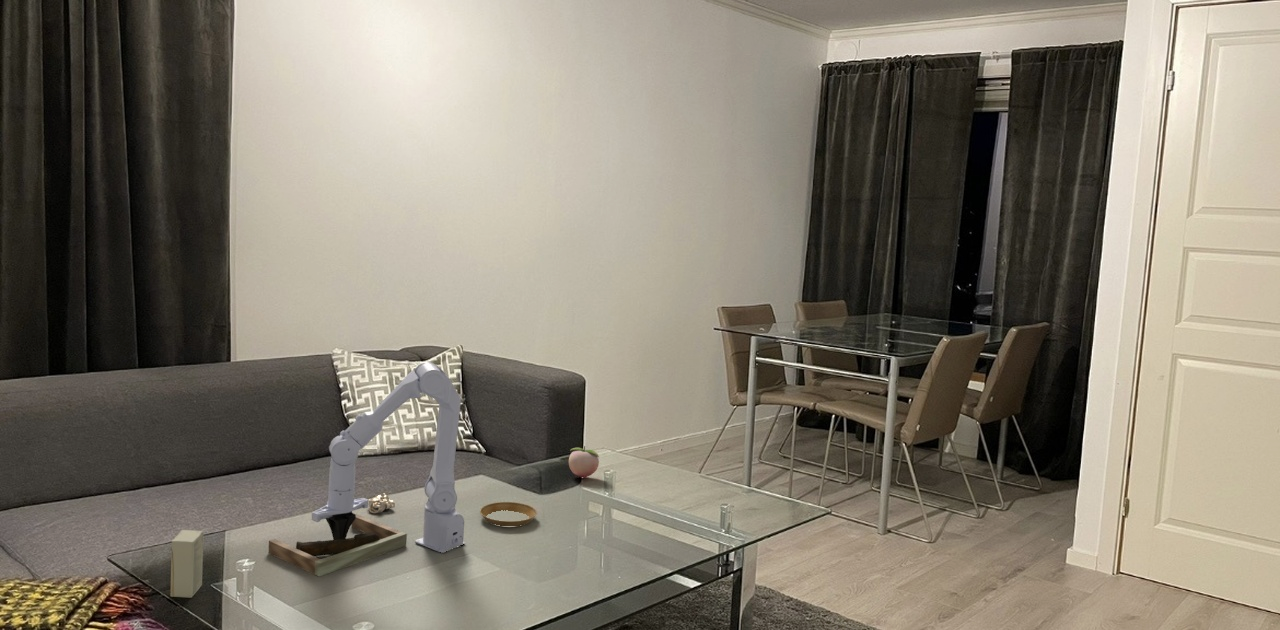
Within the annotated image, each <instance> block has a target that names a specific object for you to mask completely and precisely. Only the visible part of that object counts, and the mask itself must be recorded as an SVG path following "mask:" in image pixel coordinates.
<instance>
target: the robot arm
mask: <svg viewBox="0 0 1280 630" xmlns="http://www.w3.org/2000/svg"><path fill="white" fill-rule="evenodd" d="M422 393H423V394H424V395H426V396H428V397H429V398H432V399H433V400H434V401H436V403H438V411H437V414H438V415H437V423H436V433H435V441H434V451H433V452H434V453H433V461H432V468H431V469H430V471H429V476H428V479H427V480H426V482H425V485H424V488H423V489H424V494H425V496H426V497H427V498H428V499H427V500H426V503H425V505H424V512H423V515H424V516H423V530H422V531H423V532H422V533H423V535H422V537H421V538H418V539H415V540H414V543H416V544H418V545H421V546H423V547H426V548H428V549H430V550H433V551H435V552H439V553H440V552H441V554H443V553H446V551H447V552H449V551H451V550H450V549H452V548H455V547H457V546H460V545H463V544H465V545H466V541H464V535H465V534H464V533H465V518H464V516H463V515H462V514H460V512H458V511H457V509H456V505H457V502H458V494H457V492H456V490H455V489H456V488H455V484H456V482H455V481H456V480H455V473H454V470H455V469H454V468H455V457H456V449H457V440H458V432H459V421H460V413H461V401H462V400H461V399H462V398H461V396H460V395H459V392H458V391H457V390H456V387H455V386H454V383H452V380H451V378H449V376H448V375H447V374H446V373H445V371H444V370H443V369H442V368H440V367H439V366H438V365H436V364H435V363H434V362H430V361H425V362H421V363H420V364H418V365H417V366H416V367H415V368H414V370H411V371H410V372H408V374H407V375H406V376H405V377H404V378H403V379H402V380H401V382H400V383H398V384H397V386H396V387H395V388H394V389H393V390H391V392H390V393H389V394H388V395H387V396H386V397H385V398H384V399H383V400H382V401H381V403H380V404H378V405H377V407H375V409H373V411H364V412H363V413H362V414H360V413H358V414H357V415H356V416H355V421H354V422H353V423H352V424H350V425H349V426H348V427H347V428H346V429H345V430H343V429H342V431H340V432H339V435H337V436H335V437H333V438H332V439H331V441H330V444H329V446H328V450H329V453H330V455H331V457H330V462H329V463H330V465H329V466H330V467H329V471H328V472H329V473H328V477H329V478H328V498H327V499H328V500H327V502H326V505H324V506H322V507H320V508H318V509H316V510H315V511H312V512H311V521H313V522H316V523H319V522H321V521H322V520H326V522H327V524H328V526H329V528H330V532H331V535H332V538H333V539H332V540H337V539H347V536H348V533H349V530H350V528H351V524H352V523H353V521H354V520H355V519H356V514H357V513H354V512H353V511H356V510H359V509H369V499H367V498H365V497H361V498H356V499H355V484H356V467H355V465H356V461H357V460H358V457H359V453H360V451H361V450H362V449H364V448H365V447H366V446H367V445H368V444H369V443H371V442H372V440H373V439H374V438H375V437H376V436H377V435H378V434H379V433H380V432H381V431H382V430H383V425H384V423H383V422H384V421H386V420H387V418H389V417H390V416H391V415H392V414H393V413H395V412H396V411H397V410H398V409H399V408H400V407H402V405H404V404H405V403H406V402H407V401H408V400H410V399H420V398H423V396H422ZM463 546H464V545H463ZM460 547H461V546H460ZM457 548H458V547H457ZM455 549H456V548H455ZM448 550H449V551H448ZM452 550H453V549H452ZM442 552H443V553H442Z"/></svg>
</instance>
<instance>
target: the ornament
mask: <svg viewBox="0 0 1280 630" xmlns="http://www.w3.org/2000/svg"><path fill="white" fill-rule="evenodd" d="M395 507H396V503H395V500H393V499H390V497H389V496H388V495H387V493H386V492H385V493H383V494H382V495H381V494H379V495H377V496H373V497H371V498H369V499H368V511H369V512H370V513H371V514H373V515H375V514H381V513H382V512H384V510H389V509H393V508H395Z"/></svg>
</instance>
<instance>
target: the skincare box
mask: <svg viewBox="0 0 1280 630" xmlns="http://www.w3.org/2000/svg"><path fill="white" fill-rule="evenodd" d="M170 555H171V556H170V557H171V558H170V560H171V561H170V565H171V566H170V597H172V598H173V597H174V598H190V599H191V598H193V597H194V595H195V594H196V593H197V592H198V591H199V589H200V588H201V587H202V586H203V559H204V557H203V556H204V530H196V529H195V530H194V529H193V530H192V529H181V530H180V531H179V532H178V533H177V535H175V536H174V538H173V539H172V540H171V554H170Z"/></svg>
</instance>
